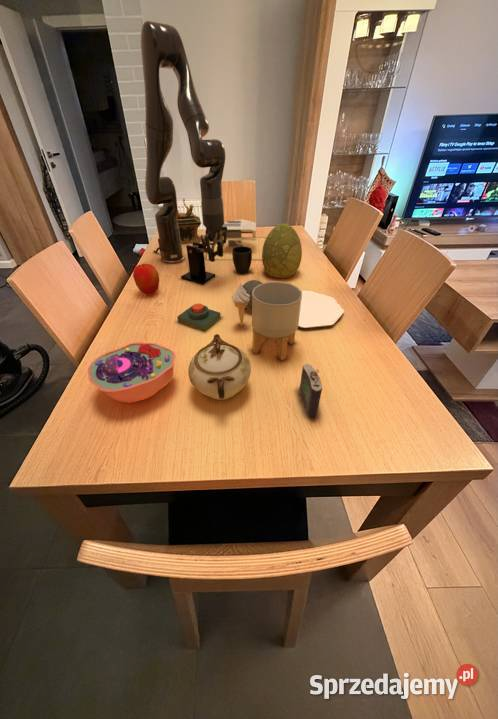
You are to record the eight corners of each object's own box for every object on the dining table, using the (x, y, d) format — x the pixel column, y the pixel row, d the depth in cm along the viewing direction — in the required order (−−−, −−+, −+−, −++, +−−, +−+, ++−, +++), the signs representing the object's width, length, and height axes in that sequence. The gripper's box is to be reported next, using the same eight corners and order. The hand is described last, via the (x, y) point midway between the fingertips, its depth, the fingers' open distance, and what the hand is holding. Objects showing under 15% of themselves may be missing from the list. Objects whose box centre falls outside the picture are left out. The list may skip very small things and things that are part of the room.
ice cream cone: (252, 322, 99) (252, 280, 89) (246, 331, 95) (246, 288, 85) (236, 319, 100) (235, 277, 91) (230, 328, 96) (228, 285, 87)
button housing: (178, 322, 99) (176, 311, 97) (194, 309, 105) (193, 299, 103) (205, 331, 95) (203, 320, 93) (220, 318, 101) (220, 307, 99)
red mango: (153, 300, 110) (146, 269, 103) (132, 297, 113) (124, 266, 105) (166, 289, 117) (160, 259, 109) (146, 286, 119) (139, 256, 111)
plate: (292, 289, 117) (293, 285, 116) (351, 306, 107) (352, 303, 106) (259, 315, 102) (259, 311, 101) (323, 338, 92) (323, 334, 91)
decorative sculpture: (271, 262, 137) (273, 216, 124) (305, 269, 131) (311, 221, 118) (254, 276, 126) (255, 226, 113) (291, 284, 120) (296, 233, 107)
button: (190, 311, 97) (190, 307, 96) (197, 307, 100) (196, 302, 99) (199, 314, 96) (199, 310, 95) (206, 309, 98) (205, 305, 97)
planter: (245, 339, 92) (244, 286, 80) (283, 330, 95) (287, 278, 84) (262, 365, 83) (264, 309, 71) (303, 354, 86) (311, 299, 75)
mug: (251, 264, 136) (252, 243, 130) (251, 275, 126) (252, 253, 120) (233, 264, 136) (233, 242, 130) (232, 275, 127) (231, 253, 120)
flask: (297, 390, 75) (302, 357, 68) (308, 389, 76) (314, 356, 69) (307, 419, 68) (314, 386, 61) (320, 417, 69) (328, 385, 62)
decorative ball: (272, 311, 104) (274, 285, 98) (246, 317, 101) (246, 290, 95) (260, 298, 111) (261, 273, 105) (235, 304, 108) (234, 278, 102)
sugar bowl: (256, 415, 69) (256, 367, 59) (190, 422, 68) (180, 374, 58) (246, 360, 84) (245, 315, 74) (192, 365, 83) (184, 319, 73)
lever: (221, 254, 115) (221, 248, 114) (214, 258, 112) (213, 252, 111) (196, 249, 120) (195, 243, 119) (188, 253, 117) (187, 247, 115)
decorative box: (201, 236, 165) (197, 196, 152) (203, 242, 158) (199, 201, 145) (164, 239, 161) (156, 198, 149) (164, 245, 154) (156, 203, 141)
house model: (269, 259, 140) (270, 232, 132) (205, 259, 140) (203, 232, 132) (267, 238, 162) (268, 214, 155) (212, 238, 163) (210, 214, 155)
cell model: (184, 403, 72) (177, 368, 65) (95, 422, 68) (77, 387, 60) (176, 360, 84) (169, 326, 77) (101, 373, 80) (86, 339, 73)
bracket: (215, 276, 126) (212, 243, 117) (202, 285, 120) (198, 250, 111) (194, 271, 130) (190, 238, 121) (181, 279, 124) (175, 245, 115)
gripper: (215, 204, 110) (218, 251, 121) (191, 214, 100) (197, 263, 111) (232, 207, 107) (234, 254, 118) (209, 217, 98) (213, 267, 109)
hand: (216, 258), depth 115 cm, fingers open, 5 cm apart
